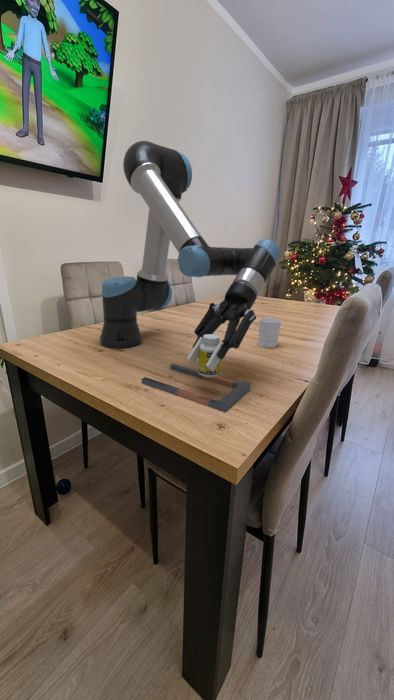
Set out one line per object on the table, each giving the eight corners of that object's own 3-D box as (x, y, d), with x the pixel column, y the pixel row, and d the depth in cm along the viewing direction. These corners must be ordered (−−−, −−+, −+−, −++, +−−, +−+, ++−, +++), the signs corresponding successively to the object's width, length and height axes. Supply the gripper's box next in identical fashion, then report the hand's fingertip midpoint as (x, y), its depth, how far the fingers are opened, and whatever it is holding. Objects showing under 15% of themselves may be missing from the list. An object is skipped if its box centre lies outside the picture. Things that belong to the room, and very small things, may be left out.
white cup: (276, 343, 120) (279, 318, 117) (279, 349, 113) (282, 323, 110) (256, 341, 121) (258, 317, 118) (257, 348, 113) (260, 321, 110)
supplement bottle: (205, 379, 73) (206, 340, 70) (194, 371, 78) (195, 334, 75) (224, 375, 76) (226, 337, 73) (213, 368, 80) (214, 332, 77)
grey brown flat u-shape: (141, 382, 81) (141, 376, 80) (173, 367, 92) (173, 361, 91) (225, 411, 68) (225, 403, 68) (250, 389, 80) (250, 382, 79)
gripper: (280, 304, 76) (237, 383, 70) (222, 295, 88) (180, 362, 82) (271, 284, 71) (224, 368, 64) (211, 277, 82) (165, 347, 76)
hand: (200, 364), depth 73 cm, fingers closed on supplement bottle, 5 cm apart
